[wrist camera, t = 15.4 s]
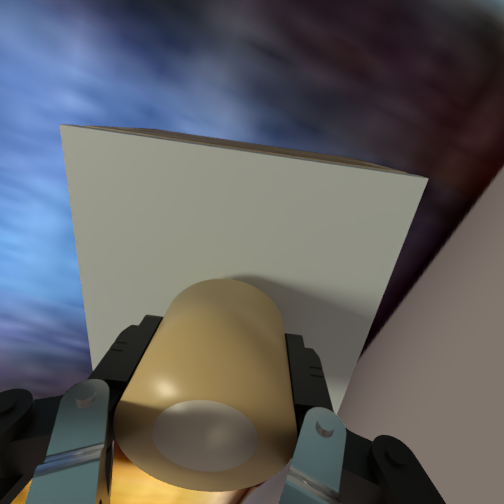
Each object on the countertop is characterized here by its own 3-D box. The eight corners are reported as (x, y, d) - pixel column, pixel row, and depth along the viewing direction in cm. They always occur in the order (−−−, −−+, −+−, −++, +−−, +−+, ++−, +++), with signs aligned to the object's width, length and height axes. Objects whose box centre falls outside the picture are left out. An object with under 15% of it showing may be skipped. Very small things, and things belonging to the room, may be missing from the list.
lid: (72, 124, 11) (59, 124, 11) (418, 175, 12) (428, 178, 11) (107, 416, 19) (100, 428, 18) (318, 442, 19) (320, 455, 18)
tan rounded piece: (166, 269, 12) (106, 357, 7) (294, 287, 12) (316, 383, 8) (164, 367, 14) (117, 483, 10) (273, 381, 14) (279, 501, 10)
